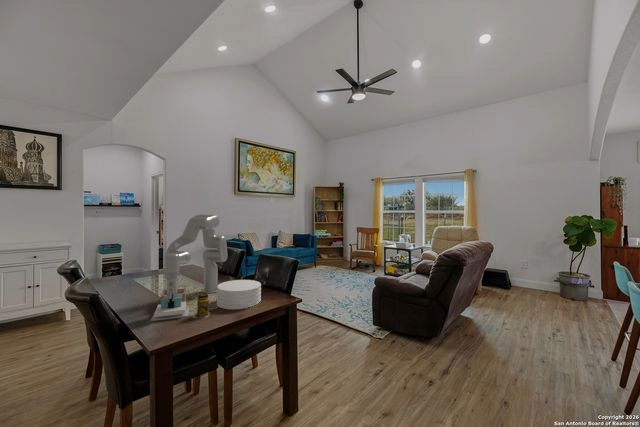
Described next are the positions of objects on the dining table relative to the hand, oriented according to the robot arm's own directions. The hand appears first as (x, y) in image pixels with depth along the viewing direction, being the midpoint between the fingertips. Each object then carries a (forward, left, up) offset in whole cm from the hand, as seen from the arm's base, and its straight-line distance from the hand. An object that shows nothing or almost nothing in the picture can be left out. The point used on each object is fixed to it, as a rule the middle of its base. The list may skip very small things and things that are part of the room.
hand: (171, 306), depth 157 cm
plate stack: (-39, -10, -5) cm, 41 cm away
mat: (0, 0, -5) cm, 5 cm away
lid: (0, 0, -2) cm, 2 cm away
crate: (0, -15, -5) cm, 16 cm away
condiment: (-16, +7, -5) cm, 18 cm away
